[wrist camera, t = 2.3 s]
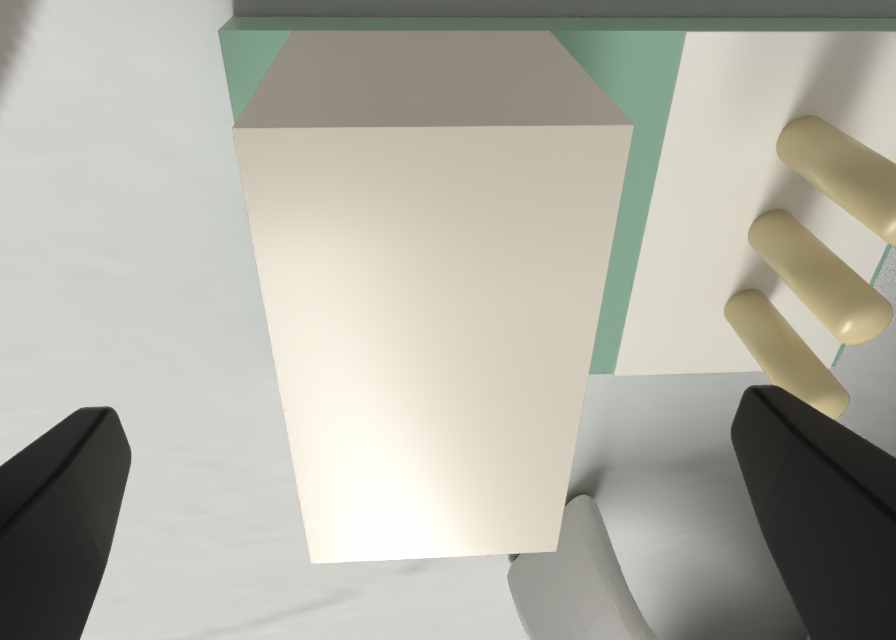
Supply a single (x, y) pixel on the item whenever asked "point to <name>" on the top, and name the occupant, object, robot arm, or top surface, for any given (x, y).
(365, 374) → the block
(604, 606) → the spoon rest
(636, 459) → the top surface
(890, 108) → the header board
